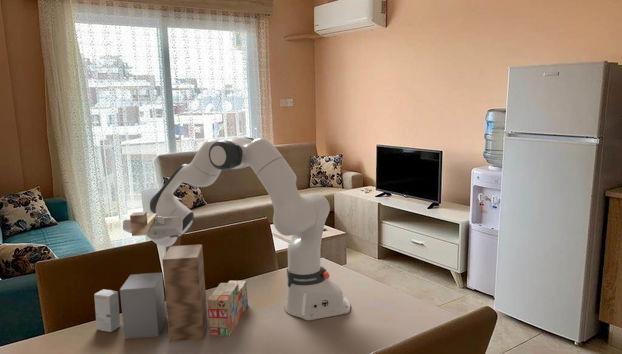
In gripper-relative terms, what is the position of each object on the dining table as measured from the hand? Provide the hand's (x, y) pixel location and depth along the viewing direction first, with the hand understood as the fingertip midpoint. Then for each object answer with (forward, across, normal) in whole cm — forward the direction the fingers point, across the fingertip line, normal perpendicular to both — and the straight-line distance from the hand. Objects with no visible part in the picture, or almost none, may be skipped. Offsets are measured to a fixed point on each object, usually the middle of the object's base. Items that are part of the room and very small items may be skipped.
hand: (148, 218), depth 152 cm
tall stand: (0, +14, +37) cm, 40 cm away
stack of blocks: (-5, +26, +35) cm, 44 cm away
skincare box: (-5, -12, +34) cm, 37 cm away
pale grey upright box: (-4, 0, +35) cm, 35 cm away
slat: (+3, 0, +4) cm, 5 cm away
